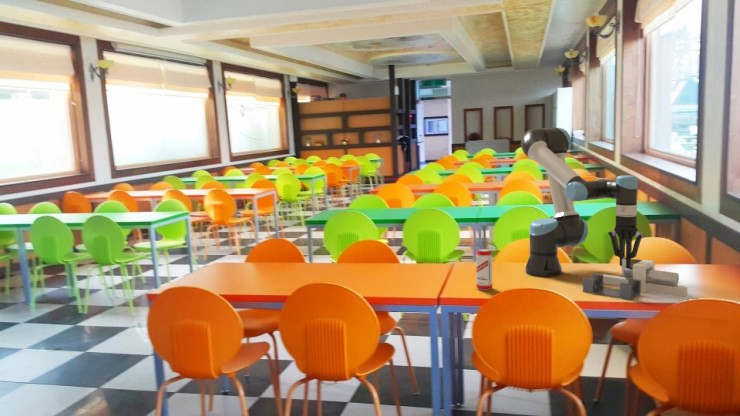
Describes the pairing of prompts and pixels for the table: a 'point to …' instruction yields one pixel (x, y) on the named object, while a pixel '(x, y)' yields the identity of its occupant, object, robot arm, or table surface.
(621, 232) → the robot arm
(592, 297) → the table surface
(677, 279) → the axle
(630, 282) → the v block
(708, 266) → the table surface
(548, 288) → the table surface
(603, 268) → the table surface
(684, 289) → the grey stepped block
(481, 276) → the beer can
